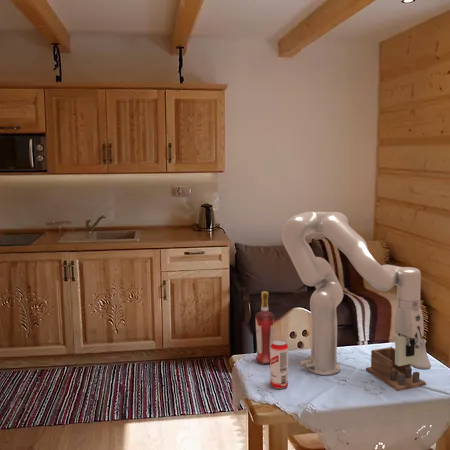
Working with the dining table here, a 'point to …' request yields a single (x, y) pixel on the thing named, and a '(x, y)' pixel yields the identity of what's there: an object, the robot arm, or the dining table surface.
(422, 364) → the flask
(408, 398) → the dining table surface
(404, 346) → the block
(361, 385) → the dining table surface
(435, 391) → the dining table surface
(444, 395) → the dining table surface
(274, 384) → the beer can
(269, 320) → the liquor
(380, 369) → the cabinet
